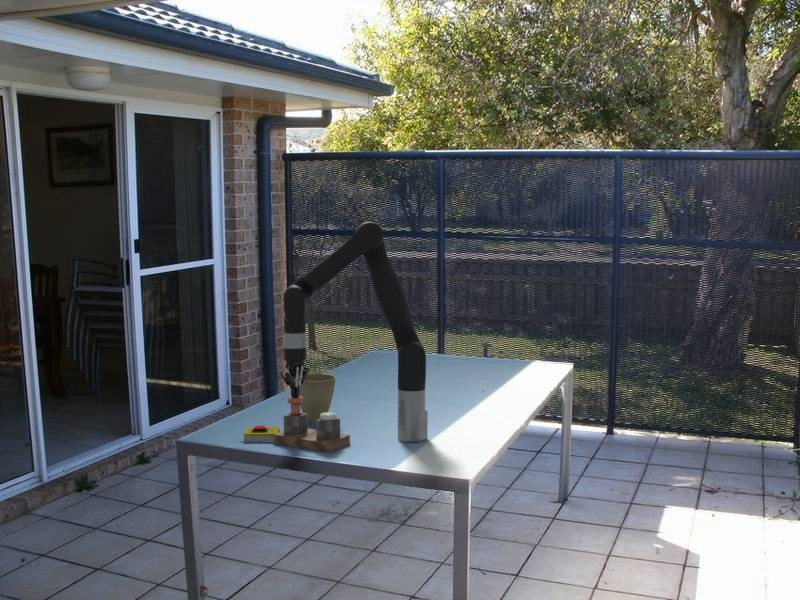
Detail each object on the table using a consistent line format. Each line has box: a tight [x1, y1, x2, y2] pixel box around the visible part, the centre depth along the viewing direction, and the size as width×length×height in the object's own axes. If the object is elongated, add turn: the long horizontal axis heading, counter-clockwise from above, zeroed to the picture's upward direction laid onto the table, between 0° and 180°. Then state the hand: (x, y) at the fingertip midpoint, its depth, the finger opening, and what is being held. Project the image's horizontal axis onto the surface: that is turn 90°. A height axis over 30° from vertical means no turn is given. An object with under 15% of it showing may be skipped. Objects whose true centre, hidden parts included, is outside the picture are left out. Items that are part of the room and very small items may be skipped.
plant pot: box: [299, 373, 337, 423], centre depth 297 cm, size 15×15×16 cm
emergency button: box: [240, 425, 281, 443], centre depth 273 cm, size 9×4×15 cm
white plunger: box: [320, 411, 337, 421], centre depth 262 cm, size 5×5×7 cm
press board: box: [273, 412, 351, 453], centre depth 266 cm, size 22×12×9 cm, turn 61°
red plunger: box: [287, 395, 303, 416], centre depth 268 cm, size 5×5×7 cm
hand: (295, 397), depth 268 cm, fingers closed
